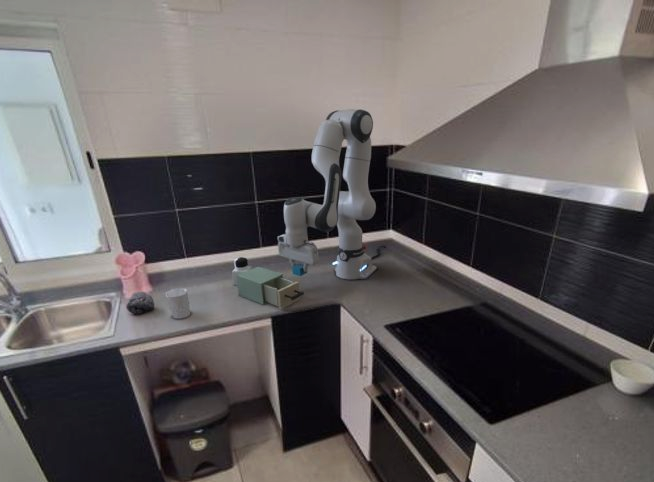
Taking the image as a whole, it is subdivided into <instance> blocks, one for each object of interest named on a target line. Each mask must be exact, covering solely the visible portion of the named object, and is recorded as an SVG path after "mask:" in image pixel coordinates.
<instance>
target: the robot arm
mask: <svg viewBox="0 0 654 482" xmlns="http://www.w3.org/2000/svg"><path fill="white" fill-rule="evenodd" d="M373 128H374V121H373V117H372V115H371V113H370V112H369V111H367V110H365V109H354V108H347V109H341V110H333V111H331V112H330V113H329V114H327V116H326V118H325V120H323V121H322V122H321V124H320V126H319V127H318V131H317V132H316V136H315V138H314V141H313V142H314V144H313V147H312V151H311V164H312V165H313V168H314V169H315V170H316V171H317V172H318V173H319V174H320V175H321V176H322V177H323V178H324V181H325V190H324V196H323V197H324V198H323V203H322V204H319V203H317V202H312V201H307V200H305V199H303V197H300V196H294V197H290V198H288V199H287V200H285V202H284V204H283V219H284V222H283V223H284V224H285V233H283V234H281V235H277V249H278V254H279V256H280V257H283V258H285V259H288V260H289V263H290V264H291V267H292V266H294V265H297V264H298V263H296V262H299V263H302V264H303V265H304V267H302V271H304V272H306V271H307V272H308V267H309V265H311V266H315V265H316V264H318V263H319V262H320V256H319V251H318V247H317V245H316V244H315V243H314V242H313V241H309V237H308V228H309V227H311V228H313V229H317V230H319V231H321V232H323V233H329V232H331V231H332V230H334V229H335V228H336V227H337V233H338V247H337V254H338V255H337V256H336V261H334V262H332V265H336V267H335V268H334V272H335V275H336V277H338V278H340V279H342V280H350V281H351V280H352V281H353V280H366V279H368V278H369V277H370V276H371V275H372V274H373V273H374V272H375V271H376V270H377V269H378V268H377V266H376V265H375V264H373V259H375V258H377V257H379V256H380V255H381V252H380V251H379V250H380V249H381V248H384V249H386V245H380V246H379V247H378V248H379V249H378V248H377V249H376V252H377V254H376V255H374V256H372V257H371V256H370V255H368V254H367V253H366V252H365V250H367V249H368V245H366V244H363V230H362V227H360V225H359V223H358V222H357V221H369V220H371V219H372V218H373V217H374V215H375V213H376V210H377V205H376V201H375V199H374V198H373V196H372V195H371V191H370V188H369V172H370V164H371V159H372V138H371V135H372V133H373ZM344 141H346V144H347V146H346V149H345V150H346V151H345V156H344V163H343V170H342V168H341V167H340V156H341V151H342V146H343V142H344ZM342 178H343V180H344V181H345V183H346V184H347V188H348V191H343V190H341V184H342ZM383 246H384V247H383ZM380 247H381V248H380Z"/></svg>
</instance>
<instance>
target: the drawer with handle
mask: <svg viewBox="0 0 654 482" xmlns="http://www.w3.org/2000/svg"><path fill="white" fill-rule="evenodd" d="M262 286H263V294H264V301H267V302H268V303H269V304H272V305H274V306H277V307H278V309H280V310H281V309H284V308H285V307H287V306H289V305H291V304H293V303H295V302H296V301H299V300H300V299H301V297H303V296H304V295H305V292H304V291H300V282H299V281H295V282H294V281H292V280H289V279H287V278H284V277H283V278H281V277H279V278H277V279H275V280H272V281H270V282H268V283H266V284H263V285H262Z"/></svg>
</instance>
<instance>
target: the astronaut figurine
mask: <svg viewBox="0 0 654 482" xmlns="http://www.w3.org/2000/svg"><path fill="white" fill-rule="evenodd" d="M233 264H234V268H233V270H232V271H231V274H232V281H233V286H238V283H237V277H236V275H238V274H240V273H243V272H246V271H248V270H251V269H253V268H252V266H251V265H249V263H248V258H246V257H243V256H239V257H236V258H234V259H233Z"/></svg>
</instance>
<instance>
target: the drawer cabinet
mask: <svg viewBox="0 0 654 482" xmlns="http://www.w3.org/2000/svg"><path fill="white" fill-rule="evenodd" d="M236 277H237V283H238V285H237V290H238V295H239V296H240V297H243V298H245V299H248V300H250V301H253V302H255V303H258V304H261V305H266V304H268V303H269V302H267V301H264V294H263V286H262V285H263V284H266V283H268V282H270V281H272V280H275V279H277V278H279V277H281V278H284V274H283V273H280V272H277V271H274V270H270V269H268V268H265V267H261V266H256V267H253V268H252V269H251V270H248V271H246V272H243V273H240V274H238V275H236Z"/></svg>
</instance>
